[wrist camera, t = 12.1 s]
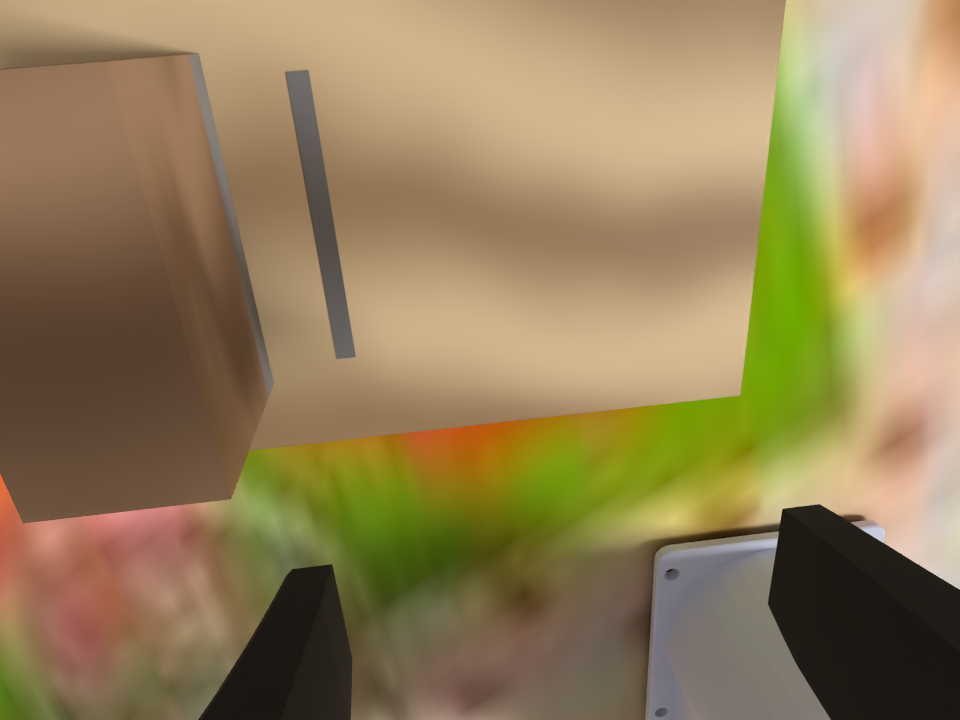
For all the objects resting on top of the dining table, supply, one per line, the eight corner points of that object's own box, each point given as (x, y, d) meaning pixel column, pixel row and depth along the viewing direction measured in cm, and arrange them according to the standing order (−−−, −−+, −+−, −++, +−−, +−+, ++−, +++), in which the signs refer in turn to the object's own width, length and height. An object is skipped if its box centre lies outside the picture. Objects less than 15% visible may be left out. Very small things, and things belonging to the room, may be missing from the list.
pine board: (725, 379, 21) (740, 395, 20) (45, 454, 19) (27, 475, 18) (773, -90, 15) (797, -98, 14) (-156, -28, 14) (-195, -33, 13)
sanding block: (273, 383, 18) (231, 499, 14) (119, 399, 18) (23, 523, 13) (198, 53, 14) (106, 61, 10) (5, 68, 14) (-179, 83, 10)
